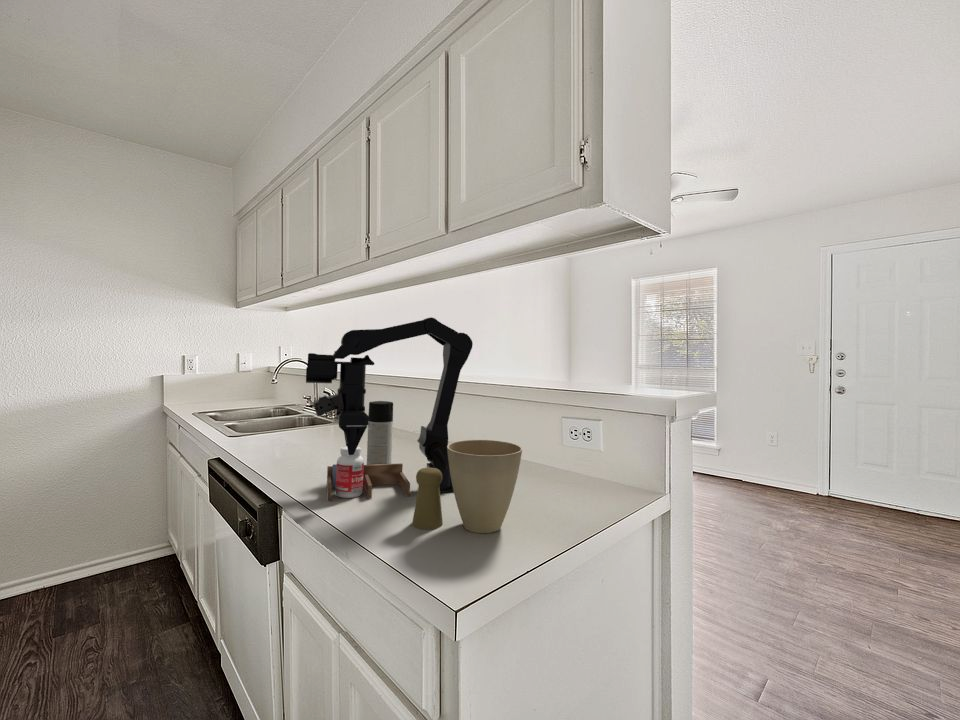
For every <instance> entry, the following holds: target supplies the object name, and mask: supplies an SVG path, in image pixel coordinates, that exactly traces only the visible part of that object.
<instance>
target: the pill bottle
mask: <svg viewBox="0 0 960 720" xmlns="http://www.w3.org/2000/svg"><path fill="white" fill-rule="evenodd" d="M361 454H362V447H360V446H359V445H358V446H357V448H356V451H355V453H354V455H349V454H348V448H347V446H346V445H345V446H341V447H340V456H339V457H338V458H337V460H336V464H337V468H336V488H335V495H336V496H337V497H338V498H344V499H353V498H357V497H360V496H361V495H362V494H363V493H364V491H363V489H364V485H363V470H364V465H365V460H364V457H362V456H361Z"/></svg>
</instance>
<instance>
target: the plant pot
mask: <svg viewBox="0 0 960 720" xmlns="http://www.w3.org/2000/svg"><path fill="white" fill-rule="evenodd" d="M447 452H448V461H449V469H450V475H451V481H452V486H453V490H454V491H453V494H454V499H455V502H456V506H457V509H458V513H459V516H460V519H461V522H462V525H463V527H464V528H465V530H467V531H469V532H471V533H476V534H490V533H494V532H497V531H499V530H500V529H501V528H502V526H503V523H504V521H505V519H506V515H507V513H508V510H509V509H510V508H509V507H510V504H511V501H512V499H513V495H514V491H515V488H516V487H515V486H516V484H517V480H518V475H519V470H520V466H521V465H520V464H521V460H522V453H523V447H521V446H520V445H518V444H516V443H512V442H509V441H503V440H494V439H467V440H459V441H453V442H451V443H448V446H447Z"/></svg>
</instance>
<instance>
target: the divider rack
mask: <svg viewBox="0 0 960 720" xmlns="http://www.w3.org/2000/svg"><path fill="white" fill-rule="evenodd" d="M403 467H404V466H403V463H391V464H374V465H367V464H364V470H363V489H364V490H365V493H366V497H367V499H368V500H369V499H371V500H372V499H373V498H372V496H373V486H380V485H393V484H394V485H396V484H397V485H399V486H400V488H401V490H402V491H403V494H405V496H406V497H410V495H411V493H410V492H411V482H410V481H409V480H408V478H407V477H406V475H405V474H404V472H403ZM336 468H337V463H335V464H332V465H331V466H330V465H329V466H327V471H326V472H327V473H326V474H327V475H326V495H327V497H326V498H328V499H327V502H332V498H333V497H332V493H333V491H332V490H333V489H334V488H333V487H336Z"/></svg>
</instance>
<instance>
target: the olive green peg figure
mask: <svg viewBox="0 0 960 720" xmlns="http://www.w3.org/2000/svg"><path fill="white" fill-rule="evenodd" d="M415 480H416V484H417V487H418V488H417V492H416V493H417V494H416V500H415V505H414V511H413V515H412V517H413V518H412V522H411V523H412V526H413V527H414V528H417V529H418V530H419V529H420V530H435V529H438V528H441V527H442V526H443V511H442V502H441V500H442V499H441V492H440V489H439V485H440V484H441V482H442V473H441V471H440V470H439V469H436V468H427V467H423V468H420V469H418V471H417V473H416V475H415Z"/></svg>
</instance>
